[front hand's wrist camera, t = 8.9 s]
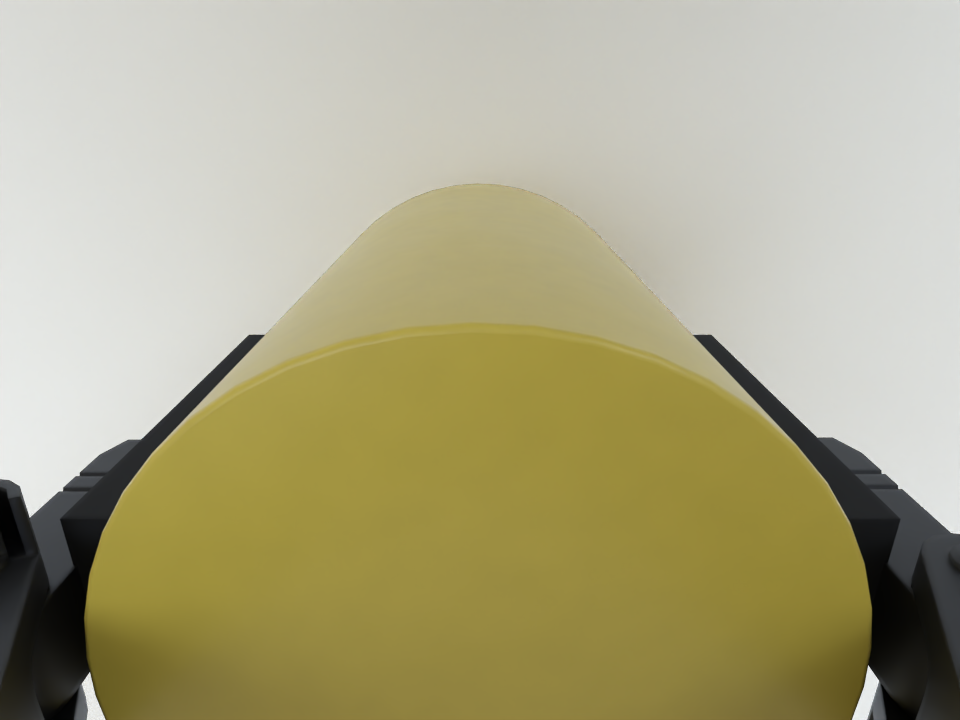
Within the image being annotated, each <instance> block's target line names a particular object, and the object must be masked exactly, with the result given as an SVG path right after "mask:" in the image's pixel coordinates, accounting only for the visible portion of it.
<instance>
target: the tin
mask: <svg viewBox="0 0 960 720" xmlns="http://www.w3.org/2000/svg"><path fill="white" fill-rule="evenodd" d="M84 622H85V639H86V655H87V661H88V665H89V670H90V674H91V678H92V682H93V686H94V691H95V695H96V698H97V700H98V702H99V705H100V707H101V710H102V712H103V714H104V717H105V719H106V720H852V717H853V715H854V712H855V709H856V707H857V704H858V701H859V699H860V696H861V693H862V690H863V688H864V684H865V678H866V673H867V668H868V663H869V658H870V652H871V635H872V606H871V600H870V594H869V587H868V581H867V575H866V569H865V563H864V561H863V558H862V555H861V552H860V549H859V547H858V544H857V541H856V538H855V535H854V532H853V530H852V527H851V524H850V522H849V520H848V518H847V516H846V515H845V513H844V511H843V509H842V508H841V506H840V504H839V502H838V501H837V499H836V497H835V495H834V494H833V492H832V490H831V488H830V486H829V485H828V483H827V482H826V480H825V479H824V478H823V477H822V475H821V474H820V473H819V472H818V471H817V469H816V468H815V467H814V466H813V464H812V463H811V462H810V461H809V460H808V458H807V457H806V456H805V455H804V453H803V452H802V451H801V450H800V449H799V447H798V446H797V445H796V444H795V443H794V442H793V441H792V440H791V438H790V437H789V436H788V435H787V434H786V433H785V432H784V431H783V430H782V429H781V428H780V427H779V426H778V425H777V424H776V423H775V422H774V421H773V419H772V418H771V417H770V416H769V415H768V414H767V413H766V412H765V411H764V410H763V409H762V408H761V407H760V406H759V405H758V404H757V403H756V402H755V400H754V399H753V398H752V397H751V396H750V395H749V394H748V393H747V392H746V391H745V390H744V389H743V388H742V387H741V386H740V385H739V384H738V382H737V381H736V380H735V379H734V378H733V377H732V376H731V375H730V374H729V373H728V372H727V371H726V370H725V369H724V368H723V367H722V366H721V365H720V363H719V362H718V361H717V360H716V359H715V358H714V357H713V356H712V355H711V354H710V353H709V352H708V351H707V350H706V349H705V348H704V347H703V346H702V344H701V343H700V342H699V341H698V340H697V339H696V338H695V337H694V336H693V335H692V334H691V333H690V332H689V331H688V330H687V329H686V328H685V326H684V325H683V324H682V323H681V322H680V321H679V320H678V319H677V318H676V317H675V316H674V315H673V314H672V313H671V312H670V311H669V310H668V309H667V307H666V306H665V305H664V304H663V303H662V302H661V301H660V300H659V299H658V298H657V297H656V296H655V295H654V294H653V293H652V292H651V291H650V290H649V288H648V287H647V286H646V285H645V284H644V283H643V282H642V281H641V280H640V279H639V278H638V277H637V276H636V275H635V274H634V273H633V272H632V271H631V269H630V268H629V267H628V266H627V265H626V264H625V263H624V262H623V261H622V260H621V259H620V258H619V257H618V256H617V255H616V254H615V253H614V251H613V250H612V249H611V248H610V247H609V246H608V245H607V244H606V243H605V242H604V241H603V240H602V239H601V238H600V237H599V236H598V235H597V234H596V232H594V231H593V230H592V229H591V228H590V227H589V226H588V225H587V224H586V223H585V222H583V221H582V220H581V219H580V218H579V217H577V216H576V215H574V214H573V213H572V212H570V211H569V210H567V209H566V208H564V207H563V206H561V205H559V204H557V203H555V202H553V201H551V200H549V199H547V198H545V197H543V196H540V195H537V194H534V193H531V192H528V191H525V190H522V189H518V188H513V187H508V186H502V185H492V184H467V185H455V186H450V187H446V188H441V189H437V190H432V191H430V192H427V193H424V194H422V195H419V196H416V197H414V198H411V199H409V200H407V201H406V202H404V203H402V204H400V205H398V206H396V207H394V208H393V209H391V210H390V211H388V212H387V213H386V214H384V215H383V216H382V217H380V218H379V219H378V220H376V221H375V222H374V223H373V224H372V225H371V226H370V227H369V228H368V229H367V230H366V231H365V232H364V233H363V234H361V235H360V236H359V238H358V239H357V240H356V241H355V242H354V243H353V244H352V245H351V246H350V247H349V248H348V249H347V250H346V251H345V252H344V253H343V254H342V255H341V256H340V257H339V258H338V259H337V260H336V262H335V263H334V264H333V265H332V266H331V267H330V268H329V269H328V270H327V271H326V272H325V273H324V274H323V275H322V276H321V277H320V278H319V279H318V280H317V281H316V282H315V283H314V285H313V286H312V287H311V288H310V289H309V290H308V291H307V292H306V293H305V294H304V295H303V296H302V297H301V298H300V299H299V300H298V301H297V302H296V303H295V304H294V305H293V306H292V307H291V309H290V310H289V311H288V312H287V313H286V314H285V315H284V316H283V317H282V318H281V319H280V320H279V321H278V322H277V323H276V324H275V325H274V326H273V327H272V328H271V329H270V330H269V332H268V333H267V334H266V335H265V336H264V337H263V338H262V339H261V340H260V341H259V342H258V343H257V344H256V345H255V346H254V347H253V348H252V349H251V350H250V351H249V352H248V353H247V354H246V356H245V357H244V358H243V359H242V360H241V361H240V362H239V363H238V364H237V365H236V366H235V367H234V368H233V369H232V370H231V371H230V372H229V373H228V374H227V375H226V376H225V377H224V379H223V380H222V381H221V382H220V383H219V384H218V385H217V386H216V387H215V388H214V389H213V390H212V391H211V392H210V393H209V394H208V395H207V396H206V397H205V398H204V399H203V400H202V401H201V403H200V404H199V405H198V406H197V407H196V408H195V409H194V410H193V411H192V412H191V413H190V414H189V415H188V416H187V417H186V418H185V419H184V420H183V421H182V422H181V423H180V424H179V426H178V427H177V428H176V429H175V430H174V431H173V432H172V433H171V434H170V435H169V436H168V437H167V438H166V439H165V440H164V441H163V442H162V443H161V444H160V445H159V446H158V447H157V448H156V450H155V451H154V452H153V453H152V454H151V455H150V457H149V458H148V459H147V461H146V462H145V463H144V465H143V466H142V467H141V469H140V470H139V471H138V472H137V474H136V475H135V476H134V478H133V479H132V480H131V482H130V483H129V484H128V486H127V487H126V488H125V490H124V491H123V493H122V495H121V497H120V499H119V501H118V503H117V504H116V506H115V508H114V510H113V512H112V514H111V516H110V518H109V520H108V522H107V524H106V526H105V528H104V530H103V532H102V535H101V538H100V541H99V545H98V548H97V551H96V554H95V558H94V561H93V564H92V568H91V571H90V575H89V582H88V590H87V599H86V607H85V616H84Z"/></svg>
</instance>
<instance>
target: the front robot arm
mask: <svg viewBox="0 0 960 720" xmlns="http://www.w3.org/2000/svg"><path fill="white" fill-rule="evenodd" d="M264 336H265V335H249V336H247V337H246V338H245V339H244V340H243V341H242V342H241V343H240V344H239V345H238V346H237V347H236V348H235V349H234V350H233V351H232V352H231V353H230V354H229V355H228V356H227V357H226V358H225V359H224V360H223V361H222V362H221V363H220V364H219V365H218V366H217V367H216V368H215V369H214V370H213V371H211V372H210V373H209V374H208V375H207V376H206V377H205V378H204V379H203V380H202V381H201V382H200V383H199V384H198V385H197V386H196V387H195V388H194V389H193V390H192V391H191V392H190V393H189V394H188V395H187V396H186V397H185V398H184V399H183V400H182V401H181V402H180V403H179V404H178V405H176V406H175V407H174V408H173V409H172V410H171V411H170V412H169V413H168V414H167V415H166V416H165V417H164V418H163V419H162V420H161V421H160V422H159V423H158V424H157V425H156V426H155V427H154V428H153V429H152V430H151V431H150V432H149V433H148V434H147V435H146V436H145V437H144V438H143V439H141V440H127V441H125V442H123V443H121V444H119V445H117V446H116V447H114V448H112V449H110V450H108V451H106V452H104V453H102V454H100V455H99V456H98V457H97V458H96V459H94V460H93V461H92V462H91V463H90V464H89V465H88V466H87V467H86V468H85V469H83V470H82V471H81V472H80V476H76V477H75V478H73V479H72V480H71V481H70V482H69V483H68V484H67V485H66V486H65V487H64V488H63V492H58V493H57V494H56V495H55V496H54V497H52V498H51V499H50V500H49V501H48V502H47V503H46V504H45V505H44V506H43V507H41V508H40V509H39V510H38V511H37V512H36V513H35V514H34V515H33V516H32V517H30V518H29V515H28V511H27V508H26V505H25V502H24V499H23V495H22V492H21V489H20V486H18V485H17V484H15V483H13V482H11V481H10V480H1V479H0V720H87V712H88V708H87V702H86V697H85V693H84V690H83V687H82V682H83V681H84V679H85V678H86V677H87V675H88V674H89V672H90V670H89V665H88V661H87V655H86V639H85V622H84V616H85V607H86V599H87V590H88V582H89V575H90V571H91V568H92V564H93V561H94V558H95V554H96V551H97V548H98V545H99V541H100V538H101V535H102V532H103V530H104V528H105V526H106V524H107V522H108V520H109V518H110V516H111V514H112V512H113V510H114V508H115V506H116V504H117V503H118V501H119V499H120V497H121V495H122V493H123V491H124V490H125V488H126V487H127V486H128V484H129V483H130V482H131V480H132V479H133V478H134V476H135V475H136V474H137V472H138V471H139V470H140V469H141V467H142V466H143V465H144V463H145V462H146V461H147V459H148V458H149V457H150V455H151V454H152V453H153V452H154V451H155V450H156V448H157V447H158V446H159V445H160V444H161V443H162V442H163V441H164V440H165V439H166V438H167V437H168V436H169V435H170V434H171V433H172V432H173V431H174V430H175V429H176V428H177V427H178V426H179V424H180V423H181V422H182V421H183V420H184V419H185V418H186V417H187V416H188V415H189V414H190V413H191V412H192V411H193V410H194V409H195V408H196V407H197V406H198V405H199V404H200V403H201V401H202V400H203V399H204V398H205V397H206V396H207V395H208V394H209V393H210V392H211V391H212V390H213V389H214V388H215V387H216V386H217V385H218V384H219V383H220V382H221V381H222V380H223V379H224V377H225V376H226V375H227V374H228V373H229V372H230V371H231V370H232V369H233V368H234V367H235V366H236V365H237V364H238V363H239V362H240V361H241V360H242V359H243V358H244V357H245V356H246V354H247V353H248V352H249V351H250V350H251V349H252V348H253V347H254V346H255V345H256V344H257V343H258V342H259V341H260V340H261V339H262V338H263V337H264ZM693 336H694V337H695V338H696V339H697V340H698V341H699V342H700V343H701V344H702V346H703V347H704V348H705V349H706V350H707V351H708V352H709V353H710V354H711V355H712V356H713V357H714V358H715V359H716V360H717V361H718V362H719V363H720V365H721V366H722V367H723V368H724V369H725V370H726V371H727V372H728V373H729V374H730V375H731V376H732V377H733V378H734V379H735V380H736V381H737V382H738V384H739V385H740V386H741V387H742V388H743V389H744V390H745V391H746V392H747V393H748V394H749V395H750V396H751V397H752V398H753V399H754V400H755V402H756V403H757V404H758V405H759V406H760V407H761V408H762V409H763V410H764V411H765V412H766V413H767V414H768V415H769V416H770V417H771V418H772V419H773V421H774V422H775V423H776V424H777V425H778V426H779V427H780V428H781V429H782V430H783V431H784V432H785V433H786V434H787V435H788V436H789V437H790V438H791V440H792V441H793V442H794V443H795V444H796V445H797V446H798V447H799V449H800V450H801V451H802V452H803V453H804V455H805V456H806V457H807V458H808V460H809V461H810V462H811V463H812V464H813V466H814V467H815V468H816V469H817V471H818V472H819V473H820V474H821V475H822V477H823V478H824V479H825V480H826V482H827V483H828V485H829V486H830V488H831V490H832V492H833V494H834V495H835V497H836V499H837V501H838V502H839V504H840V506H841V508H842V509H843V511H844V513H845V515H846V516H847V518H848V520H849V522H850V524H851V527H852V530H853V532H854V535H855V538H856V541H857V544H858V547H859V549H860V552H861V555H862V558H863V561H864V563H865V569H866V575H867V581H868V587H869V594H870V600H871V606H872V635H871V652H870V658H869V663H868V665H869V667H870V668H871V670H872V671H873V672H874V674H875V675H876V677H877V678H878V680H879V684H878V687H877V690H876V693H875V697H874V700H873V703H872V706H871V709H870V713H869V716H868V719H867V720H960V534H953V533H950V532H949V531H948V530H947V529H946V528H945V527H944V526H943V525H941V524H940V523H939V522H938V521H937V520H936V519H935V518H934V517H932V516H931V515H930V514H929V513H928V512H927V511H926V510H925V509H924V508H922V507H921V506H920V505H919V504H918V503H917V502H916V501H915V500H914V499H912V498H911V497H910V496H909V495H908V494H907V493H906V492H905V491H904V490H902V489H898V485H897V484H896V483H895V482H894V481H892V480H891V479H890V478H889V477H888V476H887V475H886V474H882V473H881V470H880V469H879V468H878V467H877V466H876V465H875V464H873V463H872V462H871V461H870V460H869V459H868V458H867V457H866V456H865V455H863V454H862V453H861V452H859V451H857V450H855V449H853V448H851V447H850V446H848V445H846V444H844V443H842V442H840V441H838V440H836V439H834V438H817V437H816V436H815V435H814V434H813V433H812V432H811V431H810V430H809V429H808V428H807V427H806V426H805V425H804V424H802V423H801V422H800V421H799V420H798V419H797V418H796V417H795V416H794V415H793V414H792V413H791V412H790V411H789V410H788V409H787V408H786V407H785V406H784V405H783V404H782V403H781V402H780V401H779V400H778V399H777V398H776V397H775V396H774V395H773V394H772V393H771V392H770V391H769V390H767V389H766V388H765V387H764V386H763V385H762V384H761V383H760V382H759V381H758V380H757V379H756V378H755V377H754V376H753V375H752V374H751V373H750V372H749V371H748V370H747V369H746V368H745V367H744V366H743V365H742V364H741V363H740V362H739V361H738V360H737V359H736V358H735V357H734V356H732V355H731V354H730V353H729V352H728V351H727V350H726V349H725V348H724V347H723V346H722V345H721V344H720V343H719V342H718V341H717V340H716V339H715V338H714V337H713V336H712V335H693Z"/></svg>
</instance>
